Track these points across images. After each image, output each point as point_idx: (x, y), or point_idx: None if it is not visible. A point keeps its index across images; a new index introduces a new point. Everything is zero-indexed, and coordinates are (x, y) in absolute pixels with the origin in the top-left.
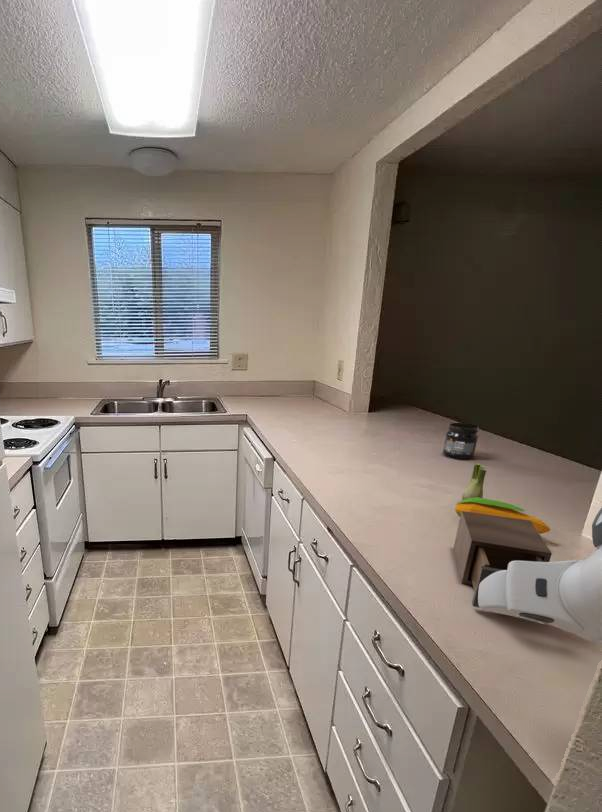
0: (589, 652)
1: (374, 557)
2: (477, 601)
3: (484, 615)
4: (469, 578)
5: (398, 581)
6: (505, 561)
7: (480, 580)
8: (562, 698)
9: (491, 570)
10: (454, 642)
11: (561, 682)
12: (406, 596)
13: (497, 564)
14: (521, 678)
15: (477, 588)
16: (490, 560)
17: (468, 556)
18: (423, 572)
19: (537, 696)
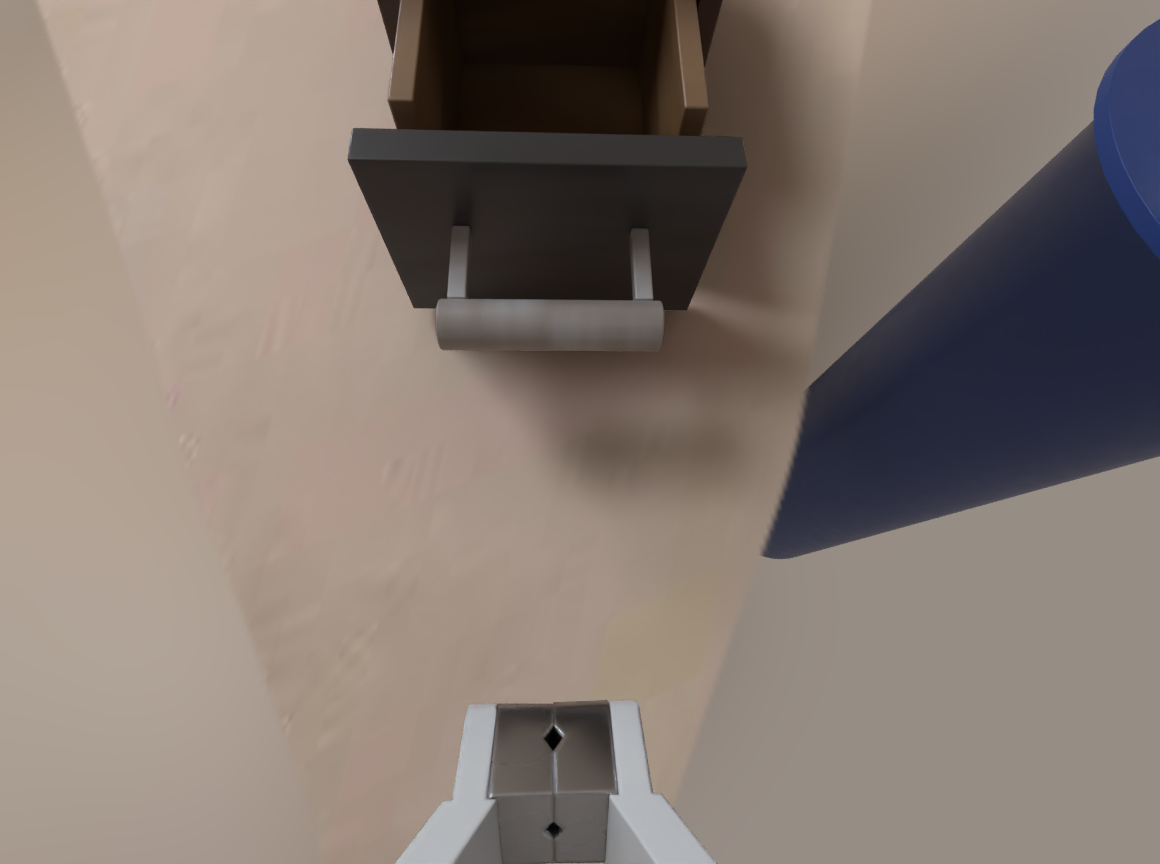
0: (789, 422)
1: (91, 86)
2: (419, 292)
3: None
4: None
5: (155, 221)
6: (570, 7)
7: (377, 216)
8: None
9: (396, 158)
10: (292, 570)
11: (659, 661)
12: (161, 316)
13: (544, 29)
14: None
15: (388, 249)
16: (514, 13)
17: (387, 25)
18: (283, 129)
19: None
